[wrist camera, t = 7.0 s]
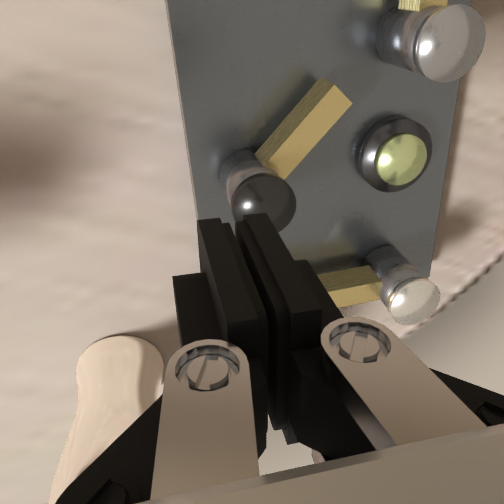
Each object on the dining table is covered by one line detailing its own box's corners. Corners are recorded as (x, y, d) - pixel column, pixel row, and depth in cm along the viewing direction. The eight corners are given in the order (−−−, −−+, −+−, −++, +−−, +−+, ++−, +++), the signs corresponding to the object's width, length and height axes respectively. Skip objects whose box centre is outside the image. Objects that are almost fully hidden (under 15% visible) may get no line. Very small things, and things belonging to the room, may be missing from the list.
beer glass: (186, 373, 36) (216, 590, 23) (107, 415, 36) (93, 651, 23) (136, 313, 32) (139, 532, 19) (48, 359, 32) (-6, 605, 19)
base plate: (161, -23, 23) (165, -24, 20) (460, -47, 25) (500, -51, 22) (209, 305, 33) (216, 334, 30) (417, 265, 35) (441, 289, 33)
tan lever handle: (247, 210, 28) (266, 248, 24) (206, 180, 26) (219, 214, 22) (343, 103, 26) (380, 124, 22) (304, 63, 24) (337, 78, 20)
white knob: (405, 241, 32) (443, 277, 28) (400, 280, 33) (436, 319, 29) (290, 261, 30) (313, 303, 26) (291, 301, 32) (314, 345, 28)
